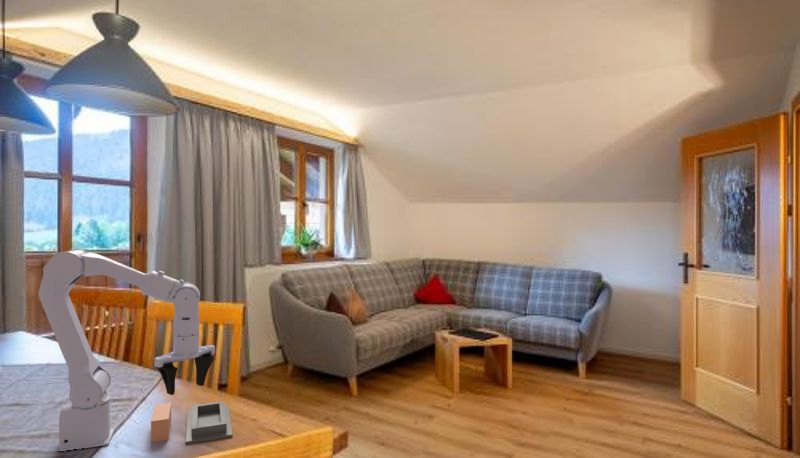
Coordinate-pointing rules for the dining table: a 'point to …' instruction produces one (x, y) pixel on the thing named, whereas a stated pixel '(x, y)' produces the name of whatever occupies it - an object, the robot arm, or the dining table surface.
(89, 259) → the robot arm
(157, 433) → the terracotta bar
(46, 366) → the dining table surface
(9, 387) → the dining table surface
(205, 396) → the dining table surface
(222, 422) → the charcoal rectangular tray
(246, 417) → the dining table surface
